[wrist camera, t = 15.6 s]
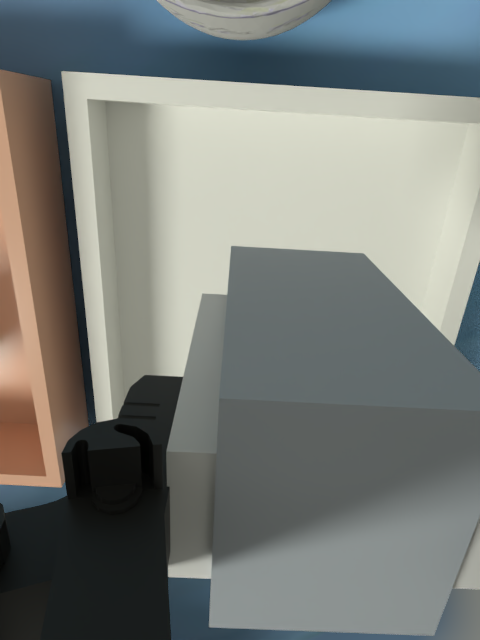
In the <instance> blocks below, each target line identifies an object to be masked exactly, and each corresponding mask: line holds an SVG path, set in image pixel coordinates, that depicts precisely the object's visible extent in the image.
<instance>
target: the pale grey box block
mask: <svg viewBox="0 0 480 640" xmlns="http://www.w3.org/2000/svg"><path fill="white" fill-rule="evenodd" d="M479 517H480V372H479V371H478V370H477V369H476V368H475V367H474V366H473V365H472V364H471V363H470V362H469V361H468V360H467V359H466V358H465V356H464V355H463V354H462V353H461V352H460V351H459V350H458V349H457V348H456V347H455V346H454V345H453V344H452V343H451V342H450V341H449V340H448V339H447V338H446V337H445V336H444V335H443V334H442V333H441V332H440V331H439V330H438V329H437V328H436V327H435V326H434V325H433V324H432V323H431V322H430V321H429V320H428V319H427V318H426V317H425V316H424V315H423V314H422V313H421V311H420V310H419V309H418V308H417V307H416V306H415V305H414V304H413V303H412V302H411V301H410V300H409V299H408V298H407V297H406V296H405V295H404V294H403V293H402V292H401V291H400V290H399V289H398V288H397V287H396V286H395V285H394V284H393V283H392V282H391V281H390V280H389V279H388V278H387V277H386V276H385V275H384V274H383V273H382V272H381V271H380V270H379V269H378V268H377V266H376V265H375V264H374V263H373V262H372V261H371V260H370V259H369V258H368V257H367V256H366V255H365V254H364V253H349V252H332V251H314V250H296V249H278V248H261V247H243V246H231V254H230V267H229V279H228V292H227V305H226V317H225V330H224V343H223V355H222V368H221V381H220V393H219V412H218V434H217V457H216V479H215V501H214V524H213V546H212V568H211V591H210V613H209V627H210V628H237V629H264V630H291V631H318V632H346V633H374V634H400V635H427V636H434V634H435V631H436V628H437V626H438V623H439V621H440V618H441V615H442V613H443V610H444V608H445V605H446V603H447V600H448V597H449V595H450V592H451V590H452V587H453V585H454V582H455V579H456V577H457V574H458V572H459V569H460V566H461V564H462V561H463V559H464V556H465V553H466V551H467V548H468V546H469V543H470V541H471V538H472V535H473V533H474V530H475V528H476V525H477V522H478V520H479Z"/></svg>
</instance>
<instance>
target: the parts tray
mask: <svg viewBox="0 0 480 640" xmlns="http://www.w3.org/2000/svg"><path fill="white" fill-rule="evenodd" d="M61 73H62V83H63V93H64V103H65V113H66V123H67V133H68V143H69V153H70V163H71V173H72V183H73V193H74V203H75V213H76V223H77V233H78V243H79V252H80V262H81V272H82V282H83V292H84V302H85V312H86V322H87V332H88V342H89V352H90V362H91V372H92V382H93V392H94V402H95V412H96V422H102V421H107V420H112V419H117V418H118V414H119V412H120V410H121V407H122V405H124V400H125V398H126V396H127V393H128V391H129V389H130V387H131V386H132V385H133V384H134V383H136V382H137V381H138V380H139V379H140V378H142V377H143V376H144V375H158V376H178V377H183V376H184V372H185V367H186V363H187V358H188V354H189V350H190V345H191V341H192V336H193V332H194V328H195V323H196V319H197V314H198V310H199V306H200V301H201V297H202V293H204V294H223V295H227V292H228V279H229V267H230V254H231V246H243V247H261V248H278V249H296V250H314V251H332V252H349V253H364V254H365V255H366V256H367V257H368V258H369V259H370V260H371V261H372V262H373V263H374V264H375V265H376V266H377V268H378V269H379V270H380V271H381V272H382V273H383V274H384V275H385V276H386V277H387V278H388V279H389V280H390V281H391V282H392V283H393V284H394V285H395V286H396V287H397V288H398V289H399V290H400V291H401V292H402V293H403V294H404V295H405V296H406V297H407V298H408V299H409V300H410V301H411V302H412V303H413V304H414V305H415V306H416V307H417V308H418V309H419V310H420V311H421V313H422V314H423V315H424V316H425V317H426V318H427V319H428V320H429V321H430V322H431V323H432V324H433V325H434V326H435V327H436V328H437V329H438V330H439V331H440V332H441V333H442V334H443V335H444V336H445V337H446V338H447V339H448V340H449V341H450V342H451V343H452V344H453V345H455V341H456V338H457V335H458V331H459V328H460V325H461V321H462V318H463V315H464V311H465V308H466V305H467V301H468V298H469V295H470V291H471V288H472V285H473V281H474V278H475V274H476V271H477V268H478V264H479V261H480V98H477V97H461V96H446V95H430V94H414V93H398V92H383V91H367V90H351V89H336V88H320V87H304V86H289V85H273V84H257V83H242V82H226V81H210V80H194V79H179V78H163V77H147V76H132V75H116V74H100V73H85V72H69V71H61Z"/></svg>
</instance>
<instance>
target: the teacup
mask: <svg viewBox="0 0 480 640" xmlns="http://www.w3.org/2000/svg"><path fill="white" fill-rule="evenodd" d="M157 1H158V2H159V3H160V4H161V5H162V6H163V7H164V8H165V9H167V10H168V11H169V12H170V13H171V14H173V15H174V16H175V17H177V18H178V19H179V20H181V21H183V22H184V23H186V24H187V25H189V26H191V27H193V28H195V29H197V30H199V31H202V32H204V33H207V34H209V35H212V36H216V37H220V38H225V39H233V40H255V39H262V38H267V37H271V36H275V35H278V34H281V33H283V32H286V31H288V30H291V29H293V28H295V27H297V26H298V25H300V24H302V23H304V22H305V21H307V20H308V19H310V18H311V17H312V16H314V15H315V14H316V13H318V12H319V11H320V10H321V9H323V8H324V7H325V6H326V5H327V4H328V3H329V2H330V1H331V0H157Z"/></svg>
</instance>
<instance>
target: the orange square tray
mask: <svg viewBox="0 0 480 640" xmlns="http://www.w3.org/2000/svg"><path fill="white" fill-rule="evenodd" d="M88 426H89V423H88V414H87V405H86V396H85V387H84V378H83V369H82V360H81V351H80V342H79V333H78V324H77V314H76V305H75V296H74V287H73V278H72V269H71V260H70V251H69V242H68V233H67V224H66V215H65V206H64V197H63V187H62V178H61V169H60V160H59V151H58V142H57V133H56V124H55V115H54V106H53V97H52V88H51V80H49V79H44V78H39V77H35V76H30V75H25V74H20V73H15V72H11V71H6V70H1V69H0V484H4V485H23V486H42V487H62V486H63V484H64V482H65V476H64V469H63V461H62V454H61V453H62V451H63V449H64V447H65V445H66V443H67V442H68V440H69V439H70V438H72V437H73V436H74V435H75V434H76V433H78V432H79V431H80V430H81V429H84V428H86V427H88Z"/></svg>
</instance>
